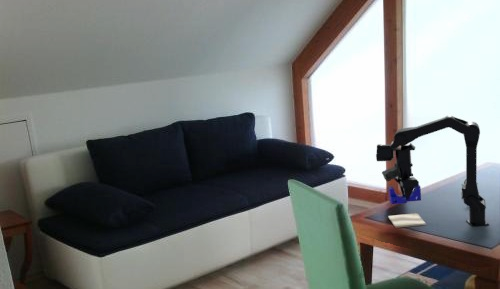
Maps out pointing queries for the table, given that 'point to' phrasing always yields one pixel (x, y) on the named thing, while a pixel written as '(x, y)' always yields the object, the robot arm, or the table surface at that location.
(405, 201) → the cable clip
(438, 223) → the table surface
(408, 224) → the pad
